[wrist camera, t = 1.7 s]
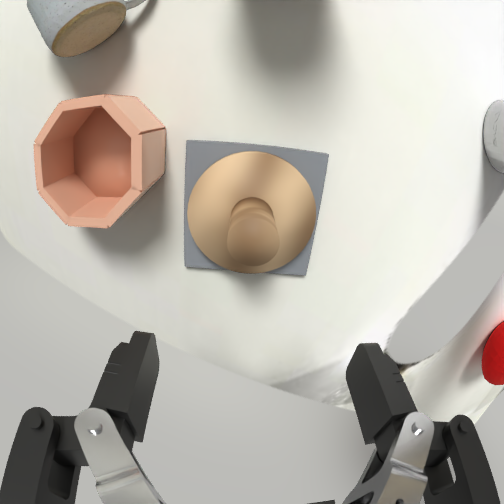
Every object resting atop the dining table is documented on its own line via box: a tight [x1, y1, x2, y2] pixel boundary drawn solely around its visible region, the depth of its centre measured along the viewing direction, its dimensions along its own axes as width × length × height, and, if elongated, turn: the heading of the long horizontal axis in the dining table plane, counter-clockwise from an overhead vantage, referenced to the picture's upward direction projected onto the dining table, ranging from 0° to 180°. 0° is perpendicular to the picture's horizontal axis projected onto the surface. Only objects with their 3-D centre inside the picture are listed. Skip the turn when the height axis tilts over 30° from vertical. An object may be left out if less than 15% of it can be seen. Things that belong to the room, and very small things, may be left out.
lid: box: [187, 151, 316, 273], centre depth 22 cm, size 11×11×6 cm
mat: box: [184, 140, 329, 275], centre depth 25 cm, size 12×12×1 cm
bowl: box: [34, 94, 166, 228], centre depth 20 cm, size 10×10×6 cm
